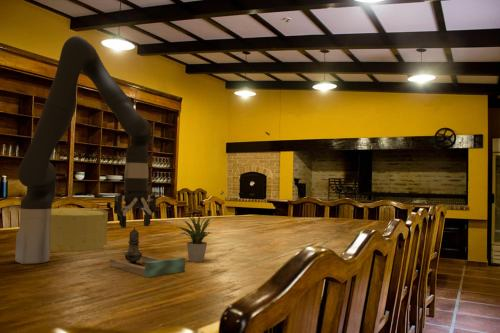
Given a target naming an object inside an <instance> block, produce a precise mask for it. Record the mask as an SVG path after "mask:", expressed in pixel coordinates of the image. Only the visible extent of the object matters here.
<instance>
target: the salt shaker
mask: <svg viewBox="0 0 500 333" xmlns="http://www.w3.org/2000/svg"><path fill="white" fill-rule="evenodd" d="M139 239H140V232H139V231H138V230H136V227H134V228H133V230H131V231H130V232H129V241H127V242H128V250H127V252H125V253H123V255H124V258H125V260H126V262H127V263H131V264H135V265H138V266H142V263H141V262H139V261H141V257H142V256H143V252H140V250H139V244H140V241H139Z"/></svg>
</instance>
